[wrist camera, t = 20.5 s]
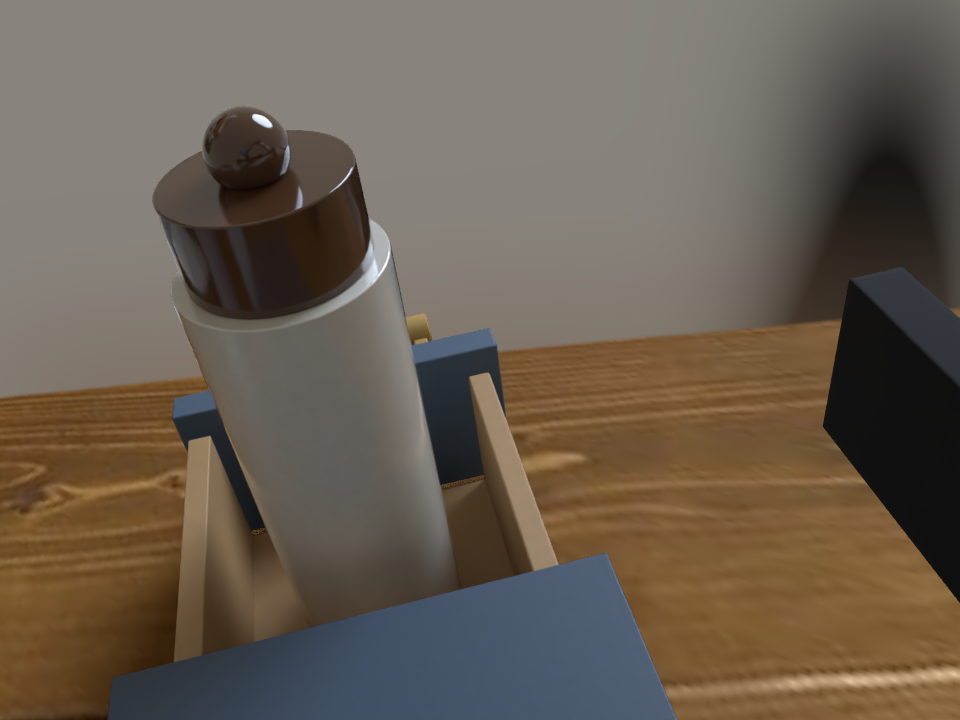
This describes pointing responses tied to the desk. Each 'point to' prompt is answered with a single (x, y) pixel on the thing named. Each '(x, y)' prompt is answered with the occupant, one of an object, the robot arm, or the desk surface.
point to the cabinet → (430, 661)
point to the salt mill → (309, 362)
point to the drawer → (459, 455)
